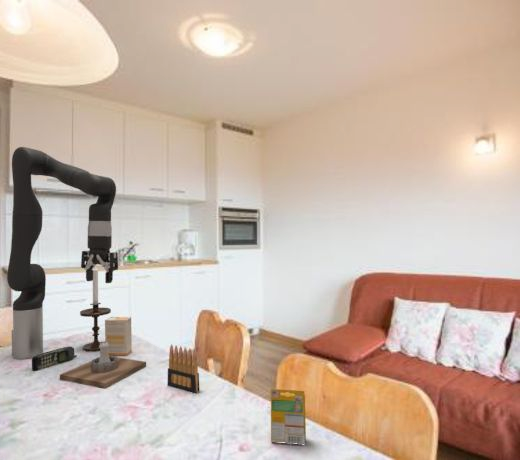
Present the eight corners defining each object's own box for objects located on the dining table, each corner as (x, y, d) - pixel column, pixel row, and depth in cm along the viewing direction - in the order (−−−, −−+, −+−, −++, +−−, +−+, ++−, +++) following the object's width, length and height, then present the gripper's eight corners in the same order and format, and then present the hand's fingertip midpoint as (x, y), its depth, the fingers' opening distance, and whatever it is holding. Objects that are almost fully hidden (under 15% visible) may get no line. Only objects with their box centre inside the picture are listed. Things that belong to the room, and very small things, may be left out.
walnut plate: (59, 379, 112) (59, 374, 112) (104, 359, 129) (104, 355, 129) (105, 388, 106) (105, 383, 106) (146, 366, 122) (146, 361, 122)
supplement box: (132, 351, 137) (132, 316, 137) (126, 355, 133) (126, 319, 133) (111, 350, 138) (111, 316, 138) (104, 355, 133) (104, 319, 133)
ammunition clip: (199, 391, 103) (199, 348, 103) (195, 393, 102) (195, 350, 102) (171, 383, 109) (171, 343, 109) (167, 385, 107) (166, 344, 107)
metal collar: (85, 370, 115) (85, 362, 115) (104, 362, 122) (104, 354, 122) (105, 374, 112) (105, 366, 112) (123, 365, 120) (123, 357, 120)
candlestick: (96, 353, 135) (95, 259, 135) (73, 350, 139) (72, 258, 139) (117, 345, 145) (116, 256, 145) (96, 342, 149) (95, 256, 149)
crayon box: (305, 438, 80) (305, 385, 80) (305, 446, 77) (304, 391, 77) (272, 435, 81) (272, 383, 81) (270, 443, 78) (270, 389, 78)
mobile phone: (34, 357, 118) (79, 344, 131) (29, 356, 120) (74, 342, 132) (34, 373, 119) (79, 358, 131) (30, 371, 120) (75, 356, 133)
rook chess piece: (115, 366, 119) (114, 341, 119) (105, 371, 114) (104, 345, 114) (103, 364, 120) (103, 340, 120) (93, 369, 116) (93, 344, 116)
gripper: (75, 234, 124) (74, 281, 124) (107, 235, 119) (106, 285, 119) (92, 234, 131) (92, 279, 131) (124, 235, 126) (123, 282, 126)
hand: (99, 281), depth 125 cm, fingers open, 8 cm apart
